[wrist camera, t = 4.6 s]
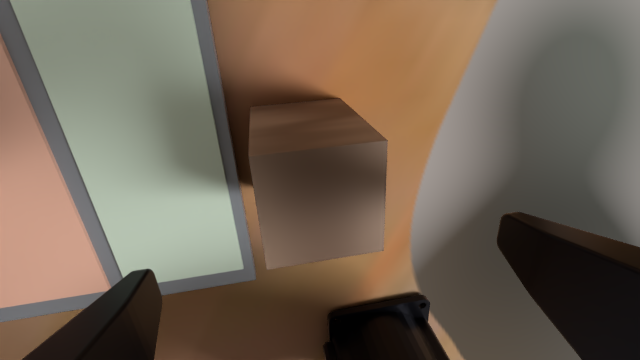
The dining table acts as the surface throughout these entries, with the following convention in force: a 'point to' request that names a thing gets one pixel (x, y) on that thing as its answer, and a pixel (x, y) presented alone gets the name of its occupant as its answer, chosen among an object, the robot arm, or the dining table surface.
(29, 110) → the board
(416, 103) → the dining table surface
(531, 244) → the robot arm
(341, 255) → the block
